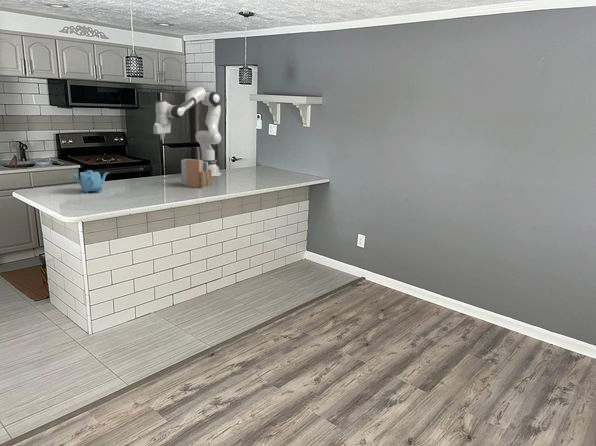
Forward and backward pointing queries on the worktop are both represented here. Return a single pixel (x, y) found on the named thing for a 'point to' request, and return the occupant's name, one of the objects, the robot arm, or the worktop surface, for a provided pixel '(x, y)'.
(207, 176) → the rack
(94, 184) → the teakettle
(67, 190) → the worktop surface
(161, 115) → the robot arm
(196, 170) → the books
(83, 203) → the worktop surface
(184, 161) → the hard drive box
